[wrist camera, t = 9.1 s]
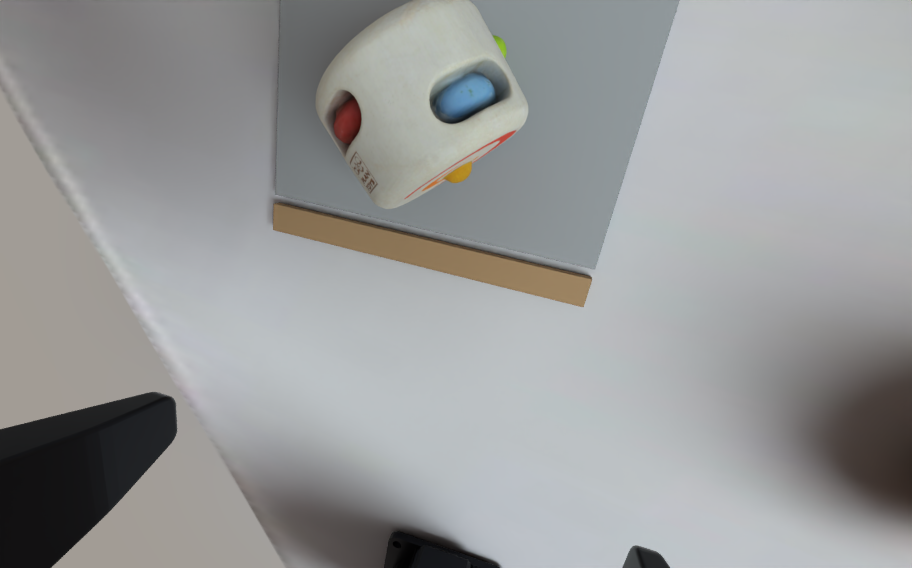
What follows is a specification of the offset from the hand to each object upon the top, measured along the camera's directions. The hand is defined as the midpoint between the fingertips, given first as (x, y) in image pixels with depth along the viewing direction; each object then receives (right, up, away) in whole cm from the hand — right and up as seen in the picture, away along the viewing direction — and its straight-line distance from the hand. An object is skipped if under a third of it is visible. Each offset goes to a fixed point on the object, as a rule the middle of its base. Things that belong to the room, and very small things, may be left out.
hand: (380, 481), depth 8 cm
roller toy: (+1, +10, +8) cm, 13 cm away
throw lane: (+1, +10, +8) cm, 13 cm away
